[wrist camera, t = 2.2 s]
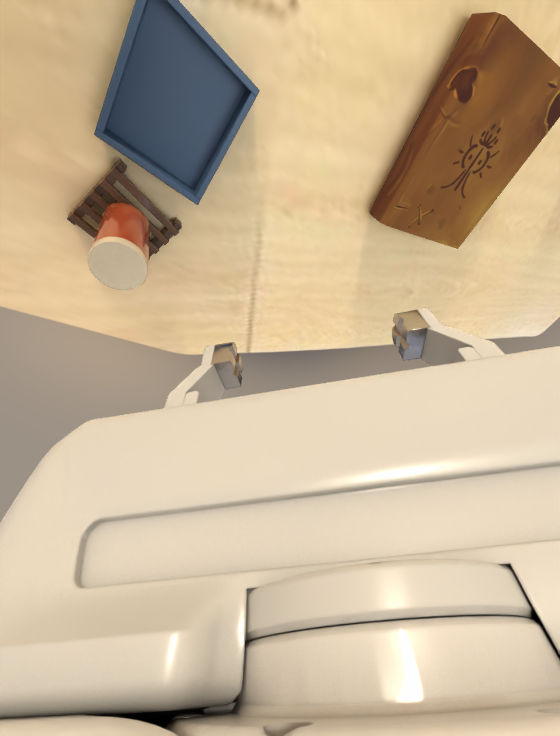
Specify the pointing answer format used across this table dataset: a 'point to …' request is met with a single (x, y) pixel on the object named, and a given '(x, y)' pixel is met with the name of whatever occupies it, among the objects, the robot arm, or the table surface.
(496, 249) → the table surface
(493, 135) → the diary
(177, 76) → the tray
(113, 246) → the cup
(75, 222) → the drying rack
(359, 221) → the table surface
